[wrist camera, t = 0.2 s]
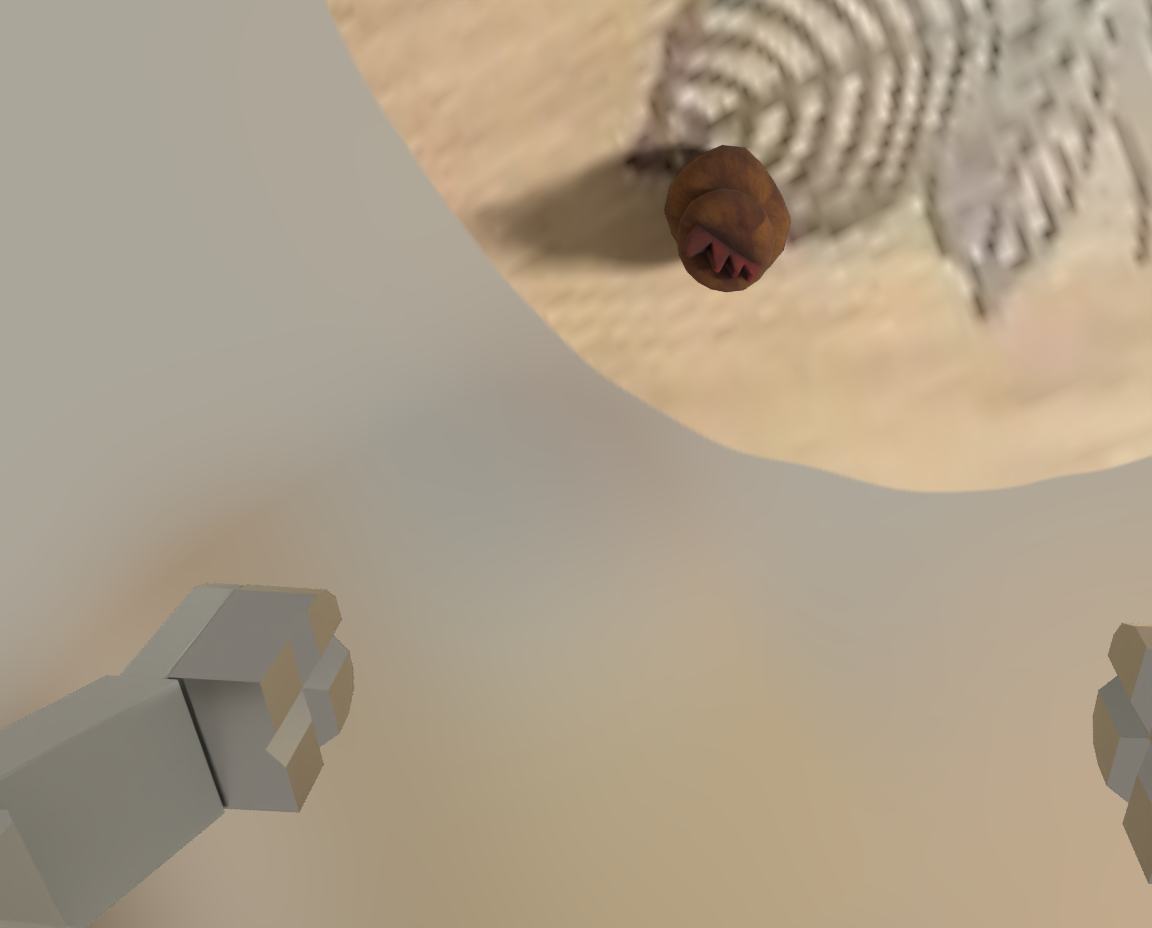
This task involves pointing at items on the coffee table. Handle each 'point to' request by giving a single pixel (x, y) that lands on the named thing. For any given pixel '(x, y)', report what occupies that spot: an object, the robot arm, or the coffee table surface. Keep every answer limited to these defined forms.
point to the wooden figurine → (727, 218)
